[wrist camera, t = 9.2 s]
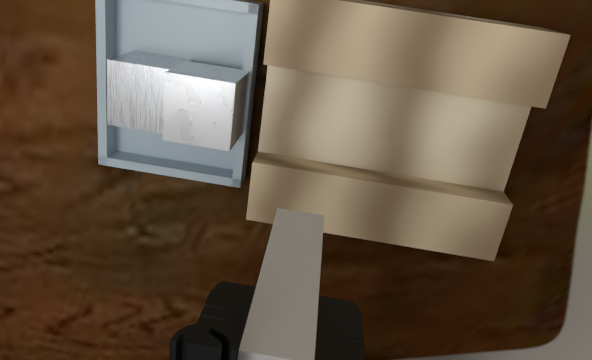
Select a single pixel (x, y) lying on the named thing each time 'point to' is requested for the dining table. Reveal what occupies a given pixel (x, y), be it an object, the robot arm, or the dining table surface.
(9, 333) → the dining table surface
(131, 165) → the tray
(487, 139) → the slot board
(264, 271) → the robot arm
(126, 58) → the grey cube block
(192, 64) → the light grey cube
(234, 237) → the dining table surface
